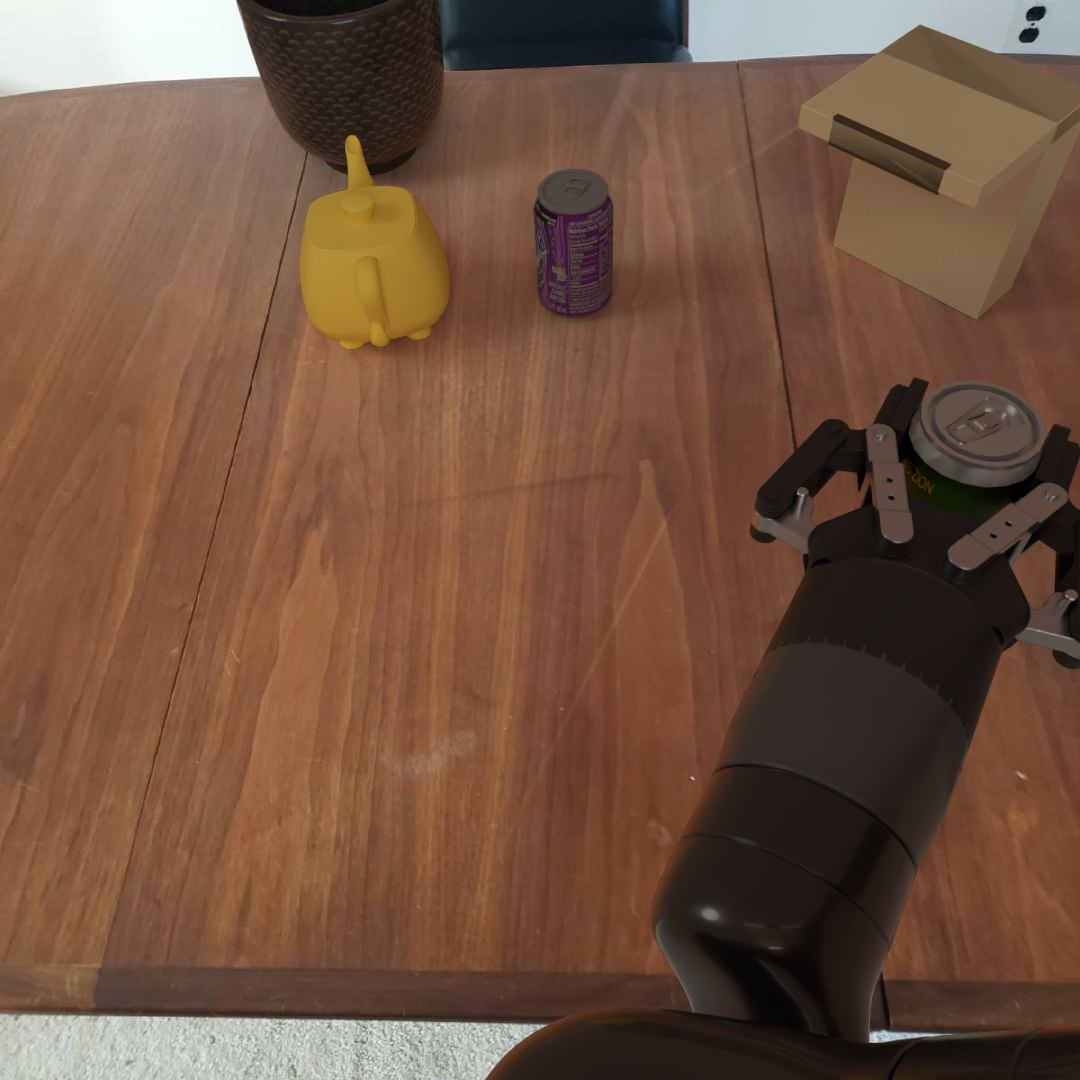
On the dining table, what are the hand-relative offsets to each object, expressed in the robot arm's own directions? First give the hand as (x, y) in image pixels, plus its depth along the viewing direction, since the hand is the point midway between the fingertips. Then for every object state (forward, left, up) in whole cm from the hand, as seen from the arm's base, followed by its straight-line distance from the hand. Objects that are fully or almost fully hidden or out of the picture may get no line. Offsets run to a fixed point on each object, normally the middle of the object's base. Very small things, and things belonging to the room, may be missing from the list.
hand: (983, 416), depth 43 cm
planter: (+67, -46, -31) cm, 87 cm away
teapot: (+52, -24, -31) cm, 65 cm away
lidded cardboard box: (+7, -46, -30) cm, 56 cm away
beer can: (0, +3, -10) cm, 11 cm away
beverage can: (+35, -32, -31) cm, 57 cm away
